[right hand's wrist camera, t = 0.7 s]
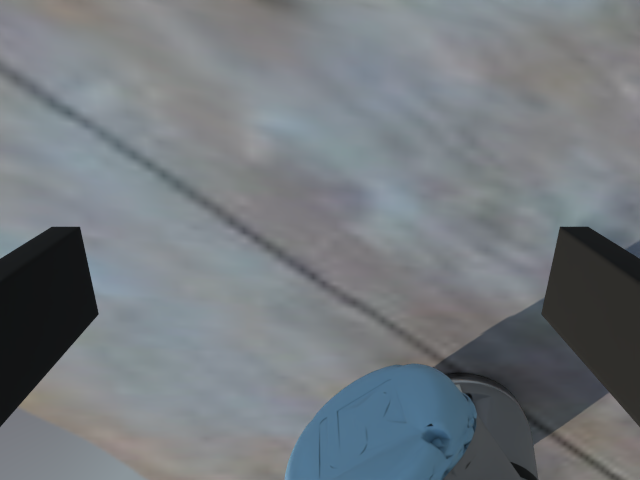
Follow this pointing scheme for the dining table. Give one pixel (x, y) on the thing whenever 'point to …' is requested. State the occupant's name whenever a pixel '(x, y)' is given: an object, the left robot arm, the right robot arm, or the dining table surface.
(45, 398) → the dining table surface
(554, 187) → the dining table surface
